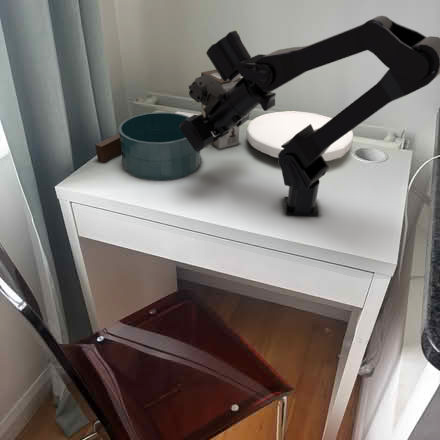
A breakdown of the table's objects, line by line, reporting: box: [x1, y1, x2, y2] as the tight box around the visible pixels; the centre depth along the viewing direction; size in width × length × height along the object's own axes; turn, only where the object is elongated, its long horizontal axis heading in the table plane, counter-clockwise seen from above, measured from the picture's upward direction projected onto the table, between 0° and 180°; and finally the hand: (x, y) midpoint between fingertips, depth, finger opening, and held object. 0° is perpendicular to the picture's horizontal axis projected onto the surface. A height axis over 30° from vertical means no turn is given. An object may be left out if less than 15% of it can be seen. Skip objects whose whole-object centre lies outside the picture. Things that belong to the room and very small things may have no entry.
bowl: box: [118, 111, 201, 181], centre depth 105 cm, size 18×18×8 cm
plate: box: [245, 110, 354, 162], centre depth 114 cm, size 28×6×27 cm
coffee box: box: [200, 69, 242, 150], centre depth 112 cm, size 9×6×16 cm
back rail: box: [95, 132, 122, 164], centre depth 111 cm, size 2×16×4 cm, turn 148°
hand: (193, 142), depth 99 cm, fingers closed, pressing on bowl
